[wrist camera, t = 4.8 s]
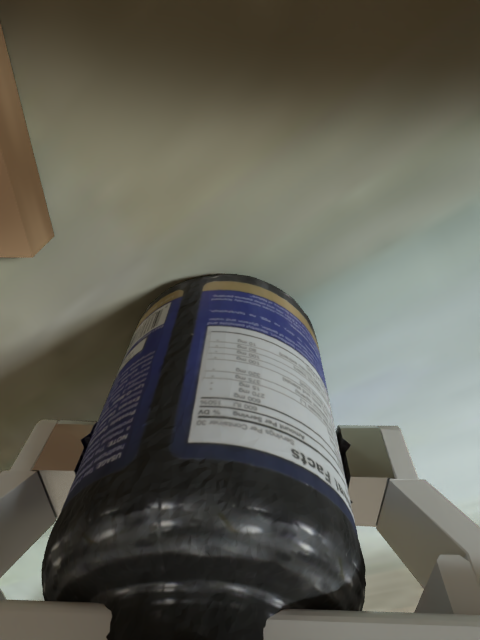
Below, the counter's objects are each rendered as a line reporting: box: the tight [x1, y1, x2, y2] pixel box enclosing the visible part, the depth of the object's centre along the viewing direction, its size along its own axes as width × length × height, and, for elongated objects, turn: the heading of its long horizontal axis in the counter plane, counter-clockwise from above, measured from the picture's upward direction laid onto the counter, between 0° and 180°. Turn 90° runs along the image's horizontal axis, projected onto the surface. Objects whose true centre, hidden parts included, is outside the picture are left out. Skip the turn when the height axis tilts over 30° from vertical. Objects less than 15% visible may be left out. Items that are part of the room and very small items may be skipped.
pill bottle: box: [42, 274, 366, 640], centre depth 10 cm, size 6×6×11 cm
